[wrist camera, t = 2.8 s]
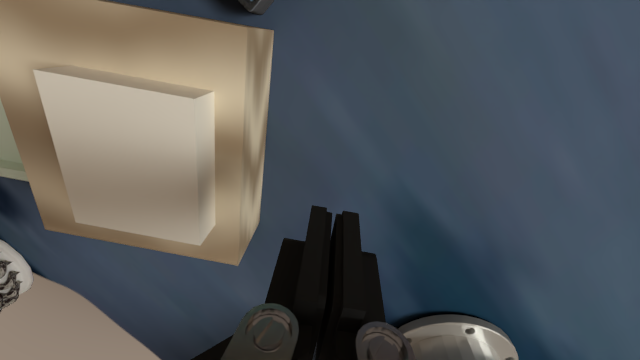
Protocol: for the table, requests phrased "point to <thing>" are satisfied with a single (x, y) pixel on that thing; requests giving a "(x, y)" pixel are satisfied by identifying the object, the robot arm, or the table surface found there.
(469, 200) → the table surface
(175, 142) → the cream tile
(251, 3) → the disk drive
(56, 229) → the board
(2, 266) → the decorative candle
